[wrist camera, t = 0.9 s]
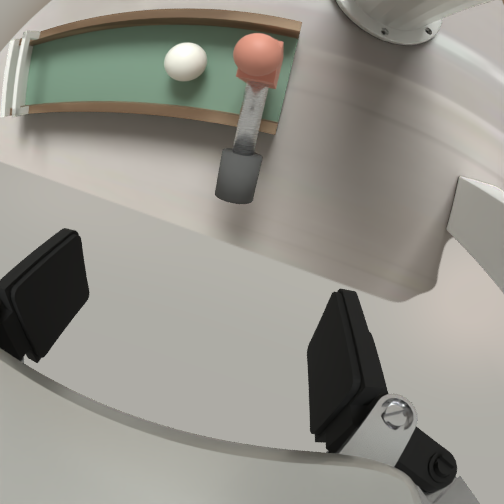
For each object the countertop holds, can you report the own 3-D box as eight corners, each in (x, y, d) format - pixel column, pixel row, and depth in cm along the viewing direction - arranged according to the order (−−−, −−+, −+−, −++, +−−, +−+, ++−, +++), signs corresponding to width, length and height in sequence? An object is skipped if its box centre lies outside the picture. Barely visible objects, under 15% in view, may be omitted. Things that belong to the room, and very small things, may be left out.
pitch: (34, 41, 20) (15, 40, 17) (299, 33, 21) (302, 22, 17) (24, 111, 26) (5, 115, 22) (276, 131, 26) (275, 134, 23)
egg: (177, 45, 21) (161, 38, 18) (215, 48, 21) (204, 39, 18) (170, 81, 23) (153, 78, 20) (207, 84, 23) (195, 81, 20)
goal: (29, 41, 19) (3, 41, 15) (55, 33, 19) (27, 30, 15) (20, 112, 25) (-7, 119, 20) (43, 110, 25) (15, 116, 20)
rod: (258, 43, 21) (239, 1, 10) (289, 49, 21) (294, 10, 10) (230, 172, 27) (196, 218, 17) (259, 179, 27) (243, 228, 17)
